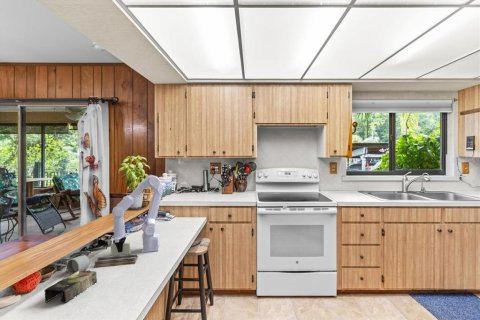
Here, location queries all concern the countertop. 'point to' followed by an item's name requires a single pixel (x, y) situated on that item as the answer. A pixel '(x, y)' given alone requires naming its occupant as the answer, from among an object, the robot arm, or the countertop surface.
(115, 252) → the door panel
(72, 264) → the grey cylinder
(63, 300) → the mossy channel block
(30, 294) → the countertop surface
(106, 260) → the track board
